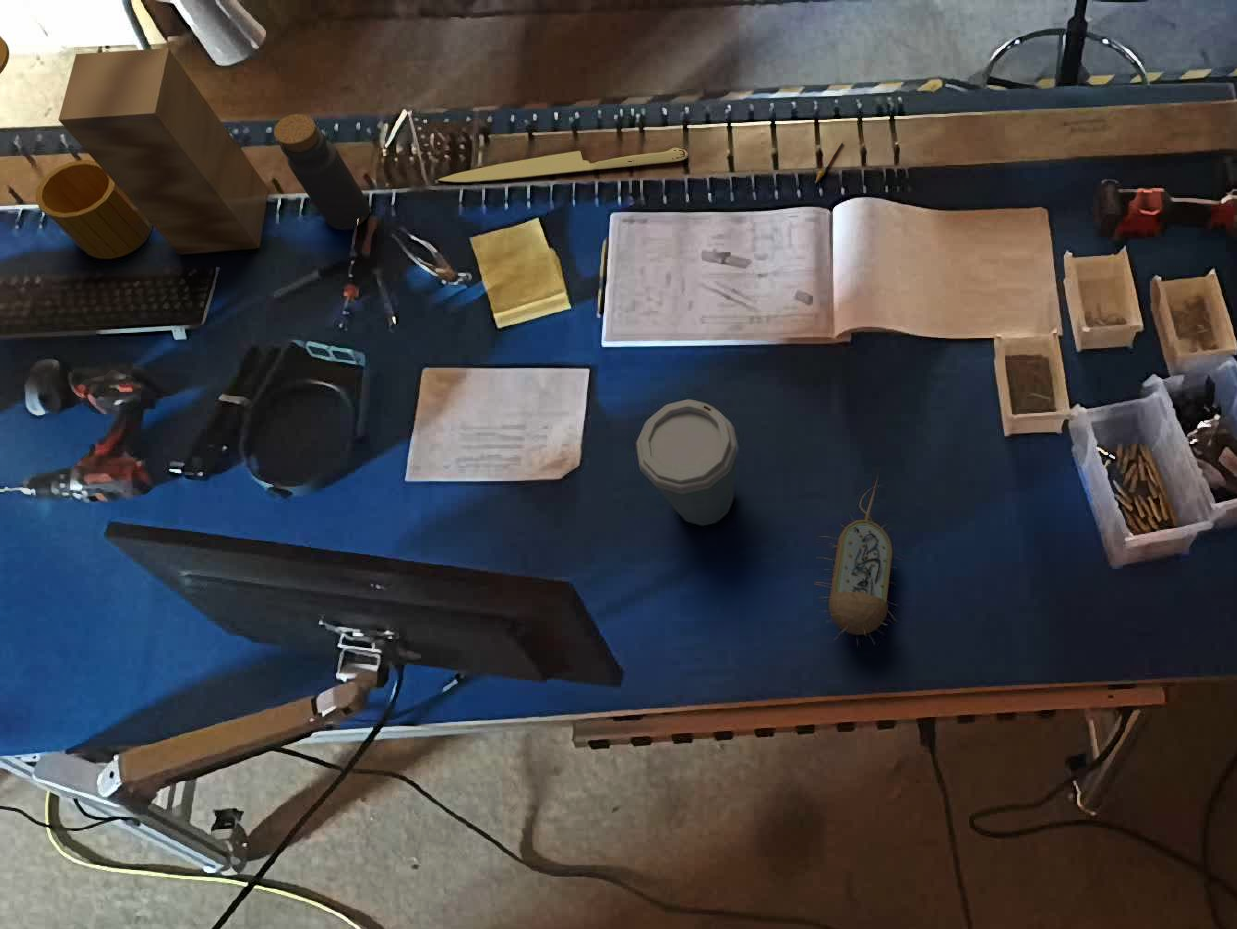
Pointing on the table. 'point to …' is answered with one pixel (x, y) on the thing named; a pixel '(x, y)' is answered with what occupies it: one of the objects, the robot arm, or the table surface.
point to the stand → (165, 149)
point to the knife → (559, 166)
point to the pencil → (819, 175)
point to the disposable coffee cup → (690, 459)
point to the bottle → (321, 172)
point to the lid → (3, 54)
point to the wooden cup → (92, 210)
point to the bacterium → (860, 576)
